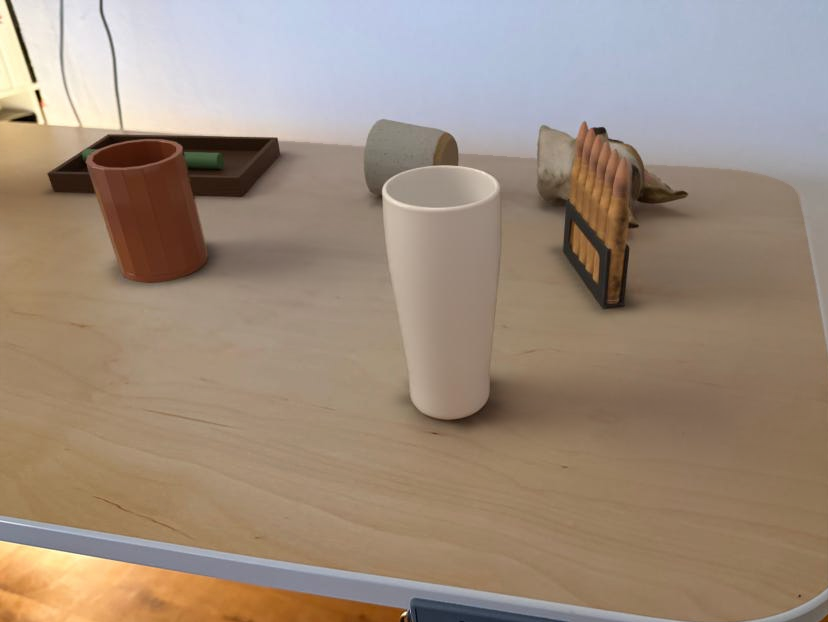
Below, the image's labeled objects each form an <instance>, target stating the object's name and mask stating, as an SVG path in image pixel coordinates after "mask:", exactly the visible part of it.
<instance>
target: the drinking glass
mask: <svg viewBox="0 0 828 622" xmlns="http://www.w3.org/2000/svg"><path fill="white" fill-rule="evenodd" d="M381 200H382V222H383V223H382V224H383V235H384V236H383V237H384V247H385V253H386V254H385V255H386V261H387V267H388V273H389V277H390V285H391V288H392V289H391V290H392V295H393V299H394V305H395V310H396V315H397V320H398V326H399V332H400V337H401V343H402V349H403V352H404V353H403V355H404V359H405V365H406V371H407V377H408V378H407V379H408V389H409V390H408V391H409V397H410V400H411V403H412V405H414V407H415V408H416V409H417V410H418V411H419V412H420V413H422V414H423V415H425V416H427V417H430V418H434V419H437V420H444V421H445V420H446V421H447V420H459V419H464V418H467V417H469V416H472V415H474V414H476V413H477V412H479V411H480V410H481V409H482V408H483V407H484V406H485V405H486V404H487V402H488V400H489V397H490V393H491V365H492V364H491V363H492V352H493V342H494V341H493V340H494V330H495V319H496V311H497V310H496V309H497V299H498V290H499V280H500V272H501V271H500V270H501V259H502V258H501V256H502V238H503V237H502V234H503V229H502V227H503V226H502V201H501V185H500V183H499V181H498V180H497V178H495V176H493V175H491V174H490V173H488V172H486V171H483V170H481V169H478V168H472V167H469V166H463V165H462V166H461V165H458V166H428V167H421V168H416V169H411V170H408V171H405V172H402V173H399V174H397V175H395V176H393V177H392V178H390V179H389V180H388V181H387V182H386V183H385V184H384V186H383V188H382V195H381Z"/></svg>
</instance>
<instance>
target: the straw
mask: <svg viewBox="0 0 828 622" xmlns="http://www.w3.org/2000/svg"><path fill="white" fill-rule="evenodd" d="M84 149H85V150H84ZM84 149H83V150H84V151H83V150H82V151H83V153H82V159H83V162H84V163H85V164H86V160H87V157H88V155H90V154H91V153H93V152H94V151H96V149H86V148H84ZM184 155H185V159H186V163H187V168H190V169H222V168H223V165H224V159H223V156H222V154H221V153H203V152H184Z"/></svg>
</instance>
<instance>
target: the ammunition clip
mask: <svg viewBox="0 0 828 622" xmlns="http://www.w3.org/2000/svg"><path fill="white" fill-rule="evenodd" d="M588 130H589V131H588ZM576 138H577V142H576V149H575V157H574V165H573V168H572V173H571V186H570V199H567V200H565V214H564V215H565V216H564V229H563V231H564V232H563V240H562V241H563V242H562V243H563V244H562V253H563V254H564V256H565V257H566V258H567V260H568V261H569V263H570V264H571V266H572V267H573V269H574V270H575V271H576V273H577V274H578V276H579V277H580V278H581V280H582V281H583V283H584V285H585V286H586V287H587V289H588V291H590V293H591V295H592V296H593V297H594V299H595V300H596V302H597V303H598V304H599V306H600V307H601V309H608V308H616V307H617V308H618V307H623V306H625V302H626V301H625V300H626V290H627V279H628V268H629V260H630V259H629V258H630V249H631V248H630V246H629V245H628V244H627V242H628V231H629V228H628V223H629V207H628V204H629V184H630V177H629V167H628V162H627V159H626V158H625V157H623V158H622V160H621V161H620V159H619V154H618V151H617V149H614V150H613V152H612V154H611V148H610V145H609V142H607V141H606V142H605V144H604V145H603V141H602V137H601V135H600V134H598V135H597V137H596V136H595V132H594V129H593V127H590V128H589V126H588V123H587V121H586V120H584V121H582V123H581V124H580V127H579V129H578V133H577V136H576Z"/></svg>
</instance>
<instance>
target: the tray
mask: <svg viewBox="0 0 828 622" xmlns="http://www.w3.org/2000/svg"><path fill="white" fill-rule="evenodd" d="M142 139H163V140H169V141H174V142H177V143H178V144H180V145H181V146H182V147H183V151H184V152H203V153H221V154H222V156H223V159H224V165H223V168H222V169H190V168H188V172H189V176H190V180H191V184H192V188H193V193H194V196H209V197H210V196H211V197H212V196H213V197H243V196H244V195H245V194H246V193H247V192H248V191H249V190H250V189H251V188H252V187H253V185H254V184H255V183H256V182H257V181H258V180H259V179H260V178H261V177H262V175H263V174H264V173H266V171H267V170H268V169H269V168H270V166H272V164H273V163H274V162H275V161H276V160H277V159H278V158H279V157H280V156H281V151H280V144H279V139H278V137H274V136H272V137H269V136H268V137H267V136H227V135H226V136H223V135H222V136H221V135H219V136H218V135H171V134H169V135H167V134H166V135H165V134H118V133H108V134H106V135H105V136H103V137H102V138H100V139H98V140H97V141H95V142H94V143H92V144H91V145H89V146H87V147H86V148H84V149H83V150H81V151H80V152H78V153H77V154H75V155H73V156H72V157H70V158H68V159H67V160H66V161H64V162H63V163H61V164H60V165H57V166H56V167H55V168H53V169H52V170H50V171H48V172H47V177H48V180H49V183H50V186H51V188H52V191H53V192H55V193H57V192H58V193H91V194H92V193H94V194H96V193H95V190H94V187H93V184H92V180H91V177H90V174H89V171H88V168H87V165H86V164H85V163H84V162H83V159H82V153H83V151H84V150H85V149H96V150H98V149H101V148H103V147H106V146H109V145H112V144H116V143H121V142H126V141H132V140H142Z"/></svg>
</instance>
